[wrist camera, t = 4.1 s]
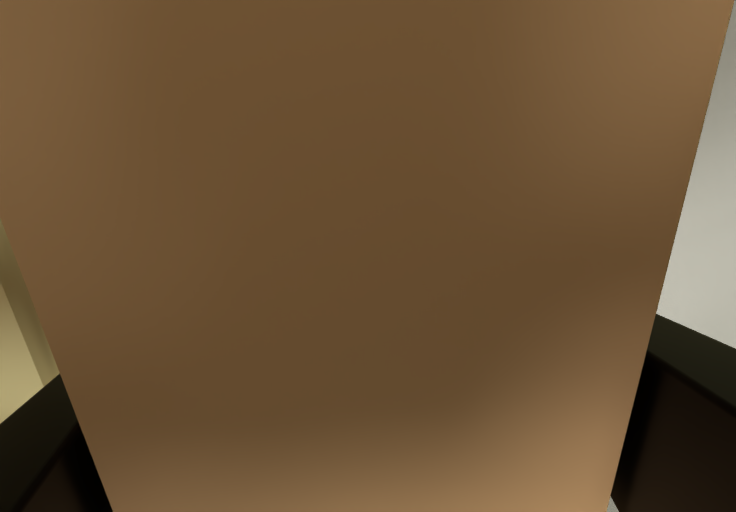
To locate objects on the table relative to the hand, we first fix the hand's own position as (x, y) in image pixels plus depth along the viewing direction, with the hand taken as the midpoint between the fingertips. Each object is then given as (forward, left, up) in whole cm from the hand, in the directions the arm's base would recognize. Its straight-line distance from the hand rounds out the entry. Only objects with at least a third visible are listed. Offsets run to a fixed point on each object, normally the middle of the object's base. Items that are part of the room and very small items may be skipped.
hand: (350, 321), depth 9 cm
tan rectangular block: (0, 0, -1) cm, 1 cm away
